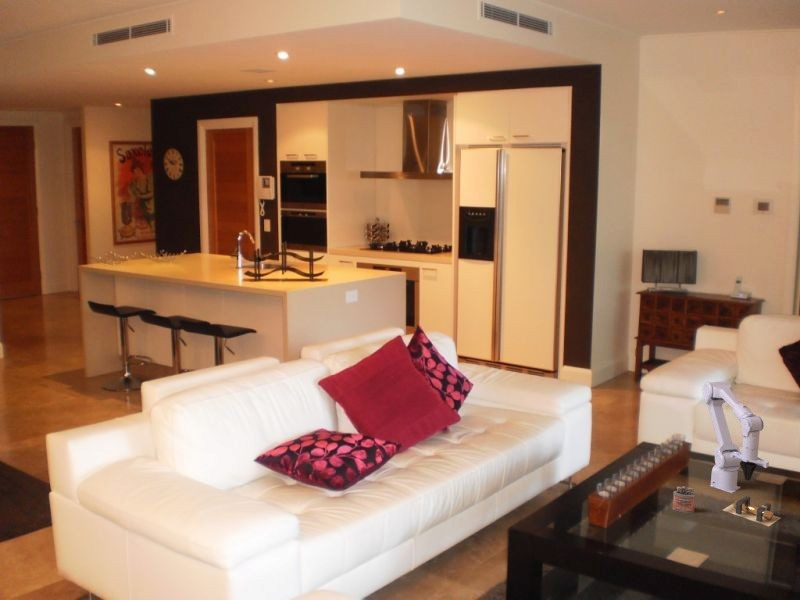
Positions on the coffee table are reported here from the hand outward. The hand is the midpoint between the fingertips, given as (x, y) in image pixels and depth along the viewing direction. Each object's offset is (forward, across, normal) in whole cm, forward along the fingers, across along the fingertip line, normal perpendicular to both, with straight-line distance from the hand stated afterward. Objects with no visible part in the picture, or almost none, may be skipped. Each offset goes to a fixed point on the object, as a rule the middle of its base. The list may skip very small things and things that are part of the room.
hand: (747, 479), depth 327 cm
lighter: (+10, -11, -26) cm, 30 cm away
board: (+10, +7, -9) cm, 15 cm away
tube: (+9, +7, -9) cm, 15 cm away
